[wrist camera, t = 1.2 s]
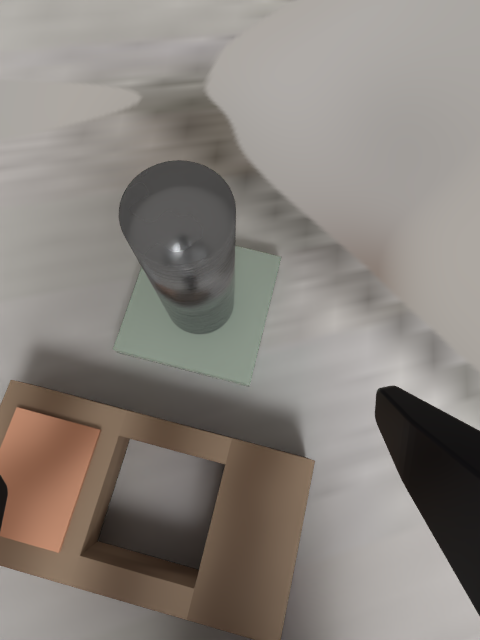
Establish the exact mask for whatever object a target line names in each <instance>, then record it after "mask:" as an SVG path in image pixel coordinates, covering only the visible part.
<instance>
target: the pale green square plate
mask: <svg viewBox="0 0 480 640" xmlns="http://www.w3.org/2000/svg"><path fill="white" fill-rule="evenodd" d="M280 261H281V257H280V256H276V255H272V254H268V253H263V252H259V251H255V250H251V249H247V248H243V247H239V246H235V289H234V308H233V312H232V314H231V316H230V318H229V319H228V321H227V322H226V323H225V324H224V325H223V326H222V327H221V328H219V329H218V330H216V331H214V332H211V333H207V334H192V333H188V332H186V331H184V330H182V329H180V328H179V327H178V326H176V325H175V324H174V323H173V321H172V320H171V318H170V317H169V315H168V313H167V311H166V309H165V308H164V306H163V304H162V302H161V301H160V299H159V297H158V295H157V293H156V292H155V290H154V288H153V286H152V284H151V283H150V281H149V279H148V277H147V275H146V274H145V272H144V270H143V268H142V267H141V270H140V273H139V276H138V279H137V282H136V285H135V287H134V290H133V293H132V296H131V299H130V302H129V305H128V308H127V310H126V313H125V316H124V319H123V322H122V325H121V328H120V330H119V333H118V336H117V339H116V342H115V345H114V348H113V350H115V351H116V352H118V353H122V354H125V355H129V356H133V357H137V358H141V359H145V360H149V361H152V362H156V363H160V364H164V365H168V366H172V367H176V368H179V369H183V370H187V371H191V372H195V373H199V374H203V375H206V376H210V377H214V378H218V379H222V380H226V381H229V382H233V383H237V384H241V385H245V386H250V382H251V378H252V374H253V370H254V366H255V362H256V358H257V354H258V350H259V346H260V342H261V338H262V334H263V329H264V325H265V321H266V317H267V313H268V309H269V305H270V301H271V297H272V293H273V289H274V285H275V281H276V277H277V273H278V269H279V265H280Z"/></svg>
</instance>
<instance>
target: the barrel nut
mask: <svg viewBox="0 0 480 640" xmlns="http://www.w3.org/2000/svg"><path fill="white" fill-rule="evenodd" d="M119 221H120V226H121V229H122V232H123V234H124V236H125V238H126V240H127V241H128V243H129V245H130V247H131V249H132V250H133V252H134V254H135V256H136V257H137V259H138V261H139V263H140V265H141V266H142V268H143V270H144V272H145V274H146V275H147V277H148V279H149V281H150V283H151V284H152V286H153V288H154V290H155V292H156V293H157V295H158V297H159V299H160V301H161V302H162V304H163V306H164V308H165V309H166V311H167V313H168V315H169V317H170V318H171V320H172V321H173V323H174V324H175V325H176V326H178V327H179V328H180V329H182V330H184V331H186V332H188V333H192V334H207V333H211V332H214V331H216V330H218V329H219V328H221V327H222V326H223V325H224V324H225V323H226V322H227V321H228V319H229V318H230V316H231V314H232V312H233V308H234V289H235V226H236V207H235V201H234V197H233V194H232V192H231V190H230V188H229V186H228V185H227V183H226V182H225V181H224V179H223V178H222V177H221V176H220V175H218V174H217V173H216V172H215V171H213V170H211V169H210V168H208V167H206V166H204V165H201V164H198V163H195V162H190V161H169V162H163V163H160V164H157V165H154V166H152V167H150V168H148V169H146V170H144V171H143V172H142V173H140V174H139V175H138V176H137V177H135V178H134V179H133V180H132V182H131V183H130V184H129V185H128V187H127V188H126V190H125V192H124V194H123V196H122V199H121V202H120V207H119Z"/></svg>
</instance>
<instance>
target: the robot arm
mask: <svg viewBox="0 0 480 640" xmlns="http://www.w3.org/2000/svg"><path fill="white" fill-rule="evenodd" d="M375 419H376V422H377V425H378V427H379V430H380V432H381V434H382V436H383V439H384V441H385V443H386V445H387V448H388V450H389V452H390V455H391V457H392V459H393V461H394V464H395V466H396V468H397V471H398V473H399V475H400V477H401V479H402V481H403V483H404V485H405V487H406V489H407V490H408V492H409V494H410V496H411V497H412V499H413V501H414V503H415V504H416V506H417V508H418V510H419V511H420V513H421V515H422V517H423V518H424V520H425V522H426V524H427V525H428V527H429V529H430V531H431V532H432V534H433V536H434V537H435V539H436V541H437V543H438V544H439V546H440V548H441V550H442V551H443V553H444V555H445V557H446V558H447V560H448V562H449V564H450V565H451V567H452V569H453V571H454V572H455V574H456V576H457V578H458V579H459V581H460V583H461V584H462V586H463V588H464V590H465V591H466V593H467V595H468V597H469V598H470V600H471V602H472V604H473V605H474V607H475V609H476V611H477V612H478V614H479V616H480V431H479V430H477V429H475V428H473V427H471V426H470V425H468V424H466V423H464V422H462V421H460V420H458V419H457V418H455V417H453V416H451V415H449V414H447V413H445V412H443V411H442V410H440V409H438V408H436V407H434V406H432V405H430V404H429V403H427V402H425V401H423V400H421V399H419V398H417V397H415V396H414V395H412V394H410V393H408V392H406V391H404V390H402V389H401V388H399V387H397V386H388V387H382V388H379V389H378V390H377V393H376V405H375ZM7 497H8V488H7V485H6V483H5V482H4V480H3V478H2V477H1V475H0V531H1V526H2V521H3V516H4V512H5V507H6V502H7Z"/></svg>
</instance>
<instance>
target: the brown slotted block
mask: <svg viewBox="0 0 480 640" xmlns="http://www.w3.org/2000/svg"><path fill="white" fill-rule="evenodd" d="M130 439H133V440H137V441H141V442H144V443H148V444H152V445H155V446H159V447H163V448H167V449H170V450H174V451H178V452H181V453H185V454H189V455H192V456H196V457H200V458H204V459H207V460H211V461H215V462H218V463H222V464H225V467H224V471H223V475H222V479H221V483H220V487H219V491H218V495H217V499H216V503H215V507H214V511H213V515H212V519H211V523H210V527H209V531H208V535H207V539H206V543H205V547H204V551H203V555H202V559H201V563H200V567H199V570H198V569H194V568H191V567H187V566H184V565H180V564H176V563H173V562H169V561H166V560H162V559H159V558H155V557H152V556H148V555H145V554H141V553H138V552H134V551H131V550H127V549H124V548H120V547H117V546H113V545H110V544H106V543H103V542H99V541H98V538H99V535H100V532H101V528H102V525H103V522H104V519H105V516H106V513H107V509H108V506H109V503H110V500H111V497H112V494H113V491H114V487H115V484H116V481H117V478H118V475H119V472H120V469H121V465H122V462H123V459H124V456H125V453H126V450H127V446H128V443H129V440H130ZM314 463H315V461H314V460H311V459H309V458H306V457H302V456H299V455H295V454H291V453H287V452H284V451H280V450H276V449H272V448H269V447H265V446H261V445H257V444H254V443H250V442H246V441H242V440H239V439H235V438H231V437H227V436H224V435H220V434H216V433H212V432H209V431H205V430H201V429H197V428H194V427H190V426H186V425H182V424H179V423H175V422H171V421H167V420H164V419H160V418H156V417H153V416H149V415H145V414H141V413H138V412H134V411H130V410H126V409H123V408H119V407H115V406H111V405H108V404H104V403H100V402H96V401H93V400H89V399H85V398H81V397H78V396H74V395H70V394H66V393H63V392H59V391H55V390H51V389H48V388H44V387H40V386H36V385H32V384H28V383H23V382H19V381H14V380H11V381H10V383H9V386H8V388H7V391H6V393H5V395H4V398H3V400H2V403H1V405H0V475H1V477H2V478H3V480H4V482H5V483H6V485H7V488H8V497H7V502H6V507H5V512H4V516H3V521H2V526H1V531H0V566H3V567H7V568H10V569H14V570H17V571H21V572H24V573H27V574H31V575H34V576H38V577H41V578H45V579H48V580H51V581H55V582H58V583H62V584H65V585H69V586H72V587H75V588H79V589H82V590H86V591H89V592H93V593H96V594H99V595H103V596H106V597H110V598H113V599H117V600H120V601H123V602H127V603H130V604H134V605H137V606H141V607H144V608H147V609H151V610H154V611H158V612H161V613H165V614H168V615H171V616H175V617H178V618H182V619H185V620H189V621H192V622H195V623H199V624H202V625H206V626H209V627H213V628H216V629H219V630H223V631H226V632H230V633H233V634H237V635H240V636H243V637H247V638H250V639H254V640H281V635H282V629H283V624H284V619H285V614H286V609H287V603H288V598H289V593H290V588H291V583H292V577H293V572H294V567H295V562H296V557H297V551H298V546H299V541H300V536H301V531H302V525H303V520H304V515H305V510H306V505H307V499H308V494H309V489H310V484H311V479H312V473H313V468H314Z"/></svg>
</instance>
